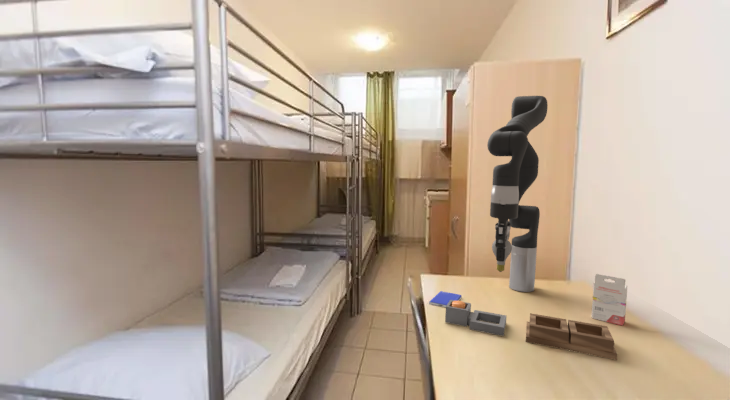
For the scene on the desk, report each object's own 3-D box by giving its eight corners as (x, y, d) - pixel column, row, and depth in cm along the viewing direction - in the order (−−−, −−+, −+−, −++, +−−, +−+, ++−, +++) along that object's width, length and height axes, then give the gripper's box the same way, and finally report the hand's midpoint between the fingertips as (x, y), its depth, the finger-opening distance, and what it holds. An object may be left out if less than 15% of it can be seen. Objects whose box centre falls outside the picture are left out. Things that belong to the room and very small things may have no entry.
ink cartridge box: (625, 321, 115) (629, 276, 113) (622, 326, 111) (626, 279, 110) (593, 313, 121) (597, 270, 119) (590, 318, 117) (594, 273, 116)
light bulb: (511, 275, 104) (513, 240, 103) (491, 273, 105) (493, 239, 104) (508, 269, 109) (510, 237, 108) (489, 268, 110) (491, 235, 109)
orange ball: (453, 310, 116) (453, 299, 115) (465, 312, 114) (466, 301, 114) (450, 314, 112) (450, 303, 112) (463, 317, 110) (464, 306, 110)
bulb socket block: (450, 313, 119) (451, 298, 118) (506, 323, 112) (506, 307, 111) (444, 324, 110) (444, 308, 110) (503, 336, 103) (504, 319, 103)
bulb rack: (526, 326, 110) (527, 311, 110) (608, 341, 101) (610, 325, 101) (525, 341, 100) (526, 326, 100) (616, 360, 91) (618, 342, 91)
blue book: (440, 290, 137) (429, 301, 126) (461, 294, 133) (452, 305, 122) (439, 294, 137) (428, 305, 127) (461, 298, 133) (452, 310, 123)
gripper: (493, 198, 113) (490, 251, 115) (487, 202, 100) (484, 262, 102) (519, 200, 110) (516, 254, 111) (516, 204, 97) (513, 266, 98)
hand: (501, 258), depth 106 cm, fingers closed on light bulb, 5 cm apart
